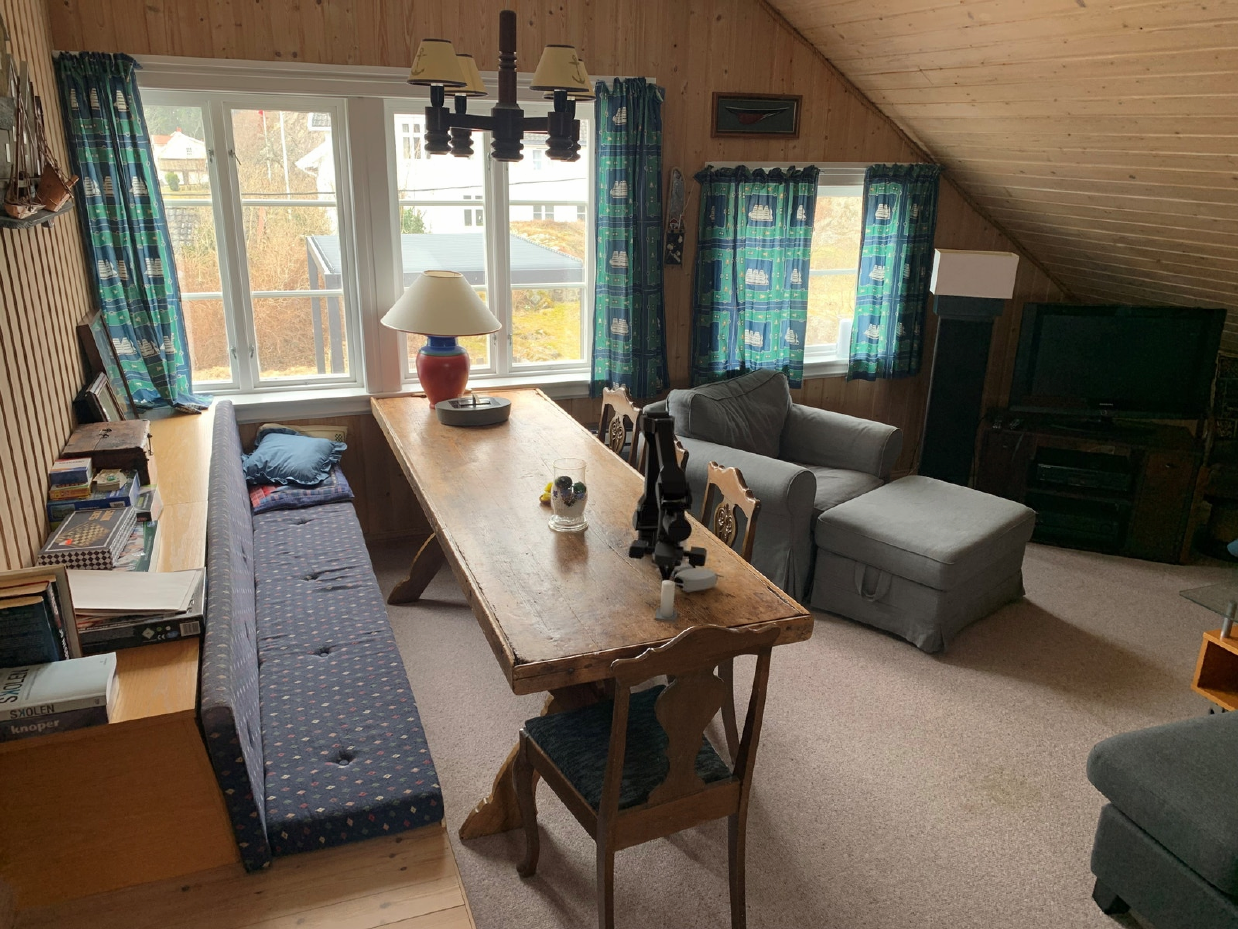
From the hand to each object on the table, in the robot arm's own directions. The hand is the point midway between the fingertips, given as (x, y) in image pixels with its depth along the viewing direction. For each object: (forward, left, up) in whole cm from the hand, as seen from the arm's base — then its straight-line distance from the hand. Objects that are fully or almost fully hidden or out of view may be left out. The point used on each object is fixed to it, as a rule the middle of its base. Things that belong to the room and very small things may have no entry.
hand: (665, 584), depth 221 cm
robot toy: (-5, +5, -2) cm, 8 cm away
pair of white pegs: (-1, +2, -2) cm, 3 cm away
